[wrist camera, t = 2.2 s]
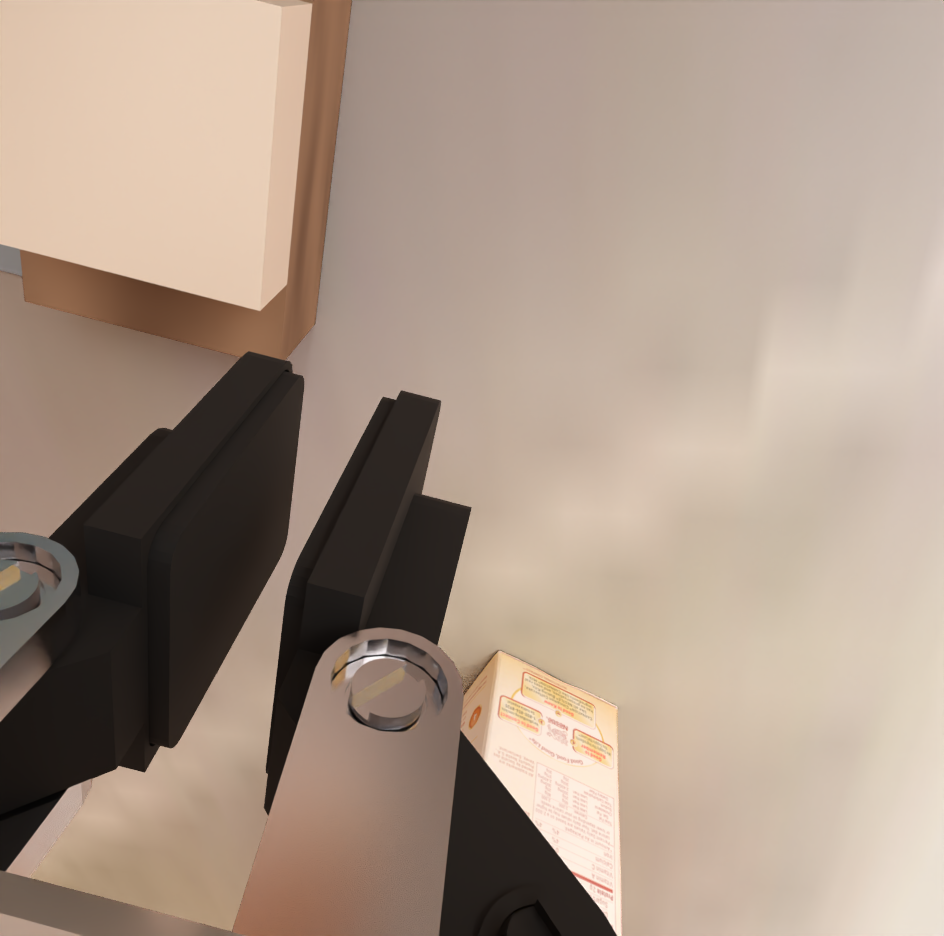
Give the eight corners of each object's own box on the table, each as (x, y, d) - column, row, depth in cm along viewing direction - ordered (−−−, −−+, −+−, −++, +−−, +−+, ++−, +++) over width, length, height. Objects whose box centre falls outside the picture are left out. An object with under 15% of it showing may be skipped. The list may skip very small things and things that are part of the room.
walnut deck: (365, -119, 23) (325, -133, 20) (315, 323, 31) (279, 367, 27) (64, -195, 23) (-26, -223, 20) (88, 265, 31) (24, 301, 28)
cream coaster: (312, 3, 22) (282, 6, 20) (286, 284, 26) (260, 310, 24) (24, -71, 22) (-37, -75, 20) (46, 222, 26) (-1, 243, 24)
